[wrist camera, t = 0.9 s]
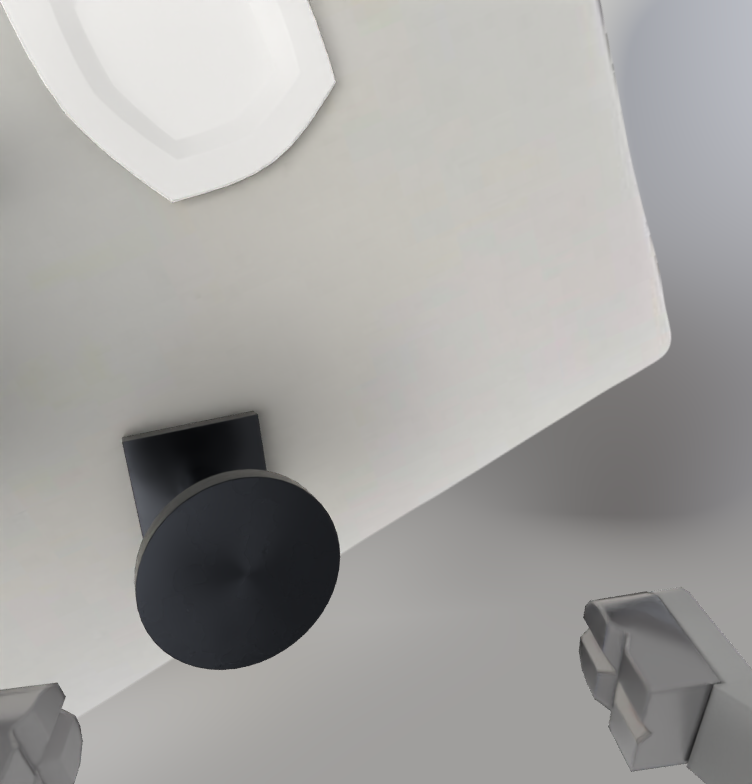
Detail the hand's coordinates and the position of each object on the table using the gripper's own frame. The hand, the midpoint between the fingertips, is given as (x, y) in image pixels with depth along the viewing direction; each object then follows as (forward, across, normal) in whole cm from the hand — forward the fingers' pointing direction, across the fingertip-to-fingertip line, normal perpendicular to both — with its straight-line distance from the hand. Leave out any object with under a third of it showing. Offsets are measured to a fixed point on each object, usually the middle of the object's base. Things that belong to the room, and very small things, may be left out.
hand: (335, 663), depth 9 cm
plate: (+42, -7, +12) cm, 44 cm away
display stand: (+32, -11, -19) cm, 39 cm away
